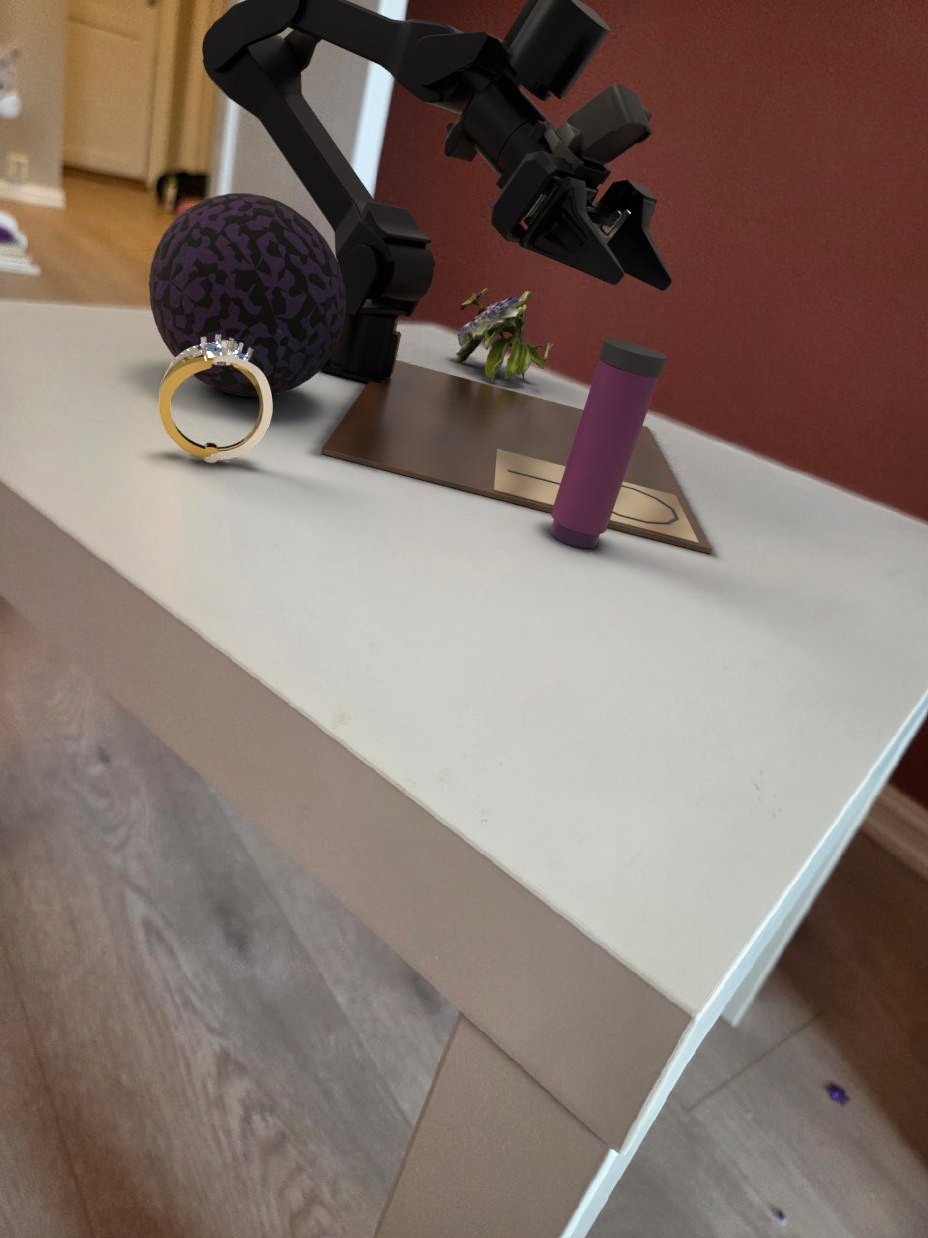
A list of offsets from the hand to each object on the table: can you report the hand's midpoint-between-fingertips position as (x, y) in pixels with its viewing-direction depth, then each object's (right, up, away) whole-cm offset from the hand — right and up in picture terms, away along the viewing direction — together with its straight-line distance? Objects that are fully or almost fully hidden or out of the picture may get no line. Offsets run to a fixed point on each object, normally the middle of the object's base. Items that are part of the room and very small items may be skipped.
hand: (645, 283), depth 69 cm
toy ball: (-33, -8, +3) cm, 34 cm away
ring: (-31, -16, -12) cm, 37 cm away
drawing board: (-9, -10, +12) cm, 18 cm away
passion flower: (-11, +3, +36) cm, 38 cm away
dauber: (-7, -21, -7) cm, 23 cm away
